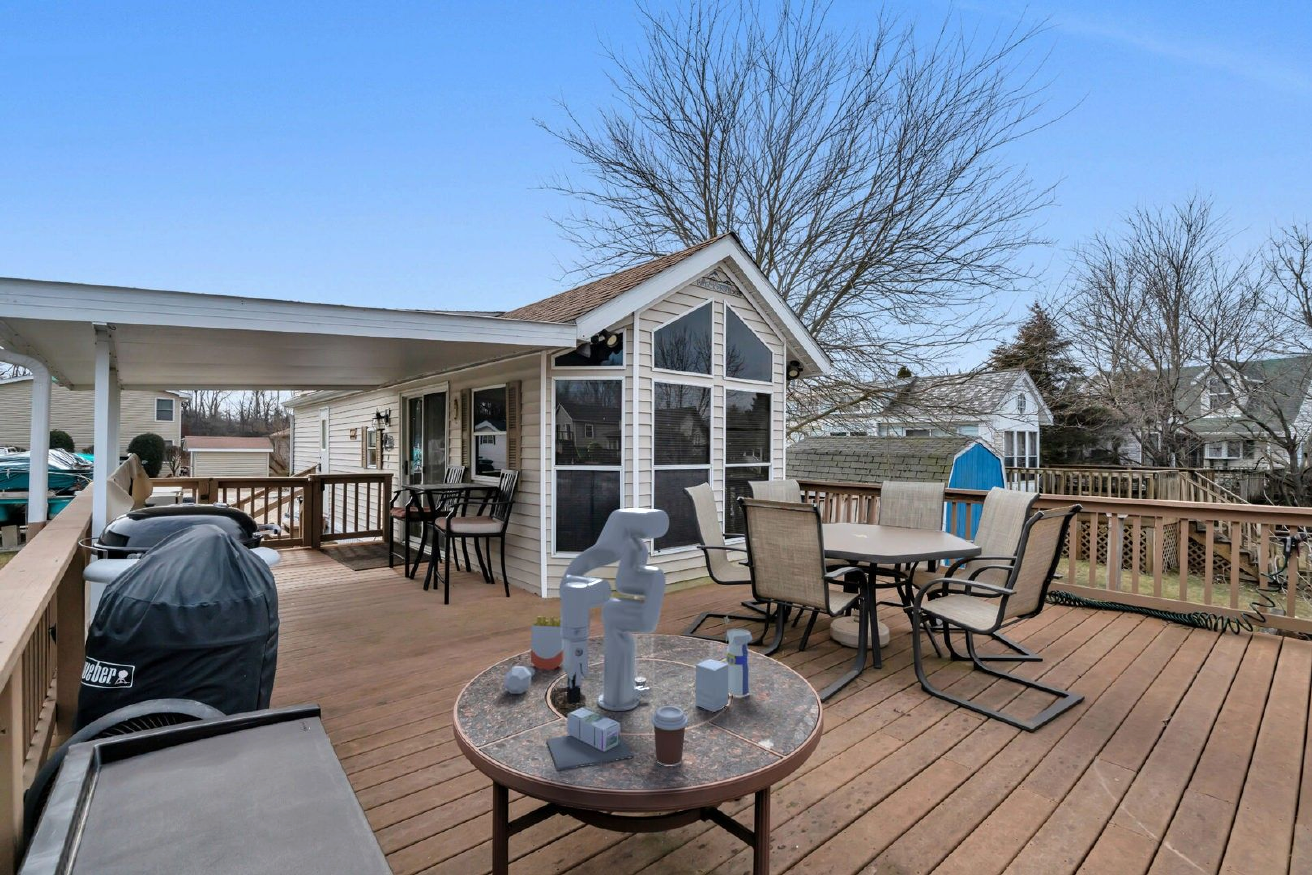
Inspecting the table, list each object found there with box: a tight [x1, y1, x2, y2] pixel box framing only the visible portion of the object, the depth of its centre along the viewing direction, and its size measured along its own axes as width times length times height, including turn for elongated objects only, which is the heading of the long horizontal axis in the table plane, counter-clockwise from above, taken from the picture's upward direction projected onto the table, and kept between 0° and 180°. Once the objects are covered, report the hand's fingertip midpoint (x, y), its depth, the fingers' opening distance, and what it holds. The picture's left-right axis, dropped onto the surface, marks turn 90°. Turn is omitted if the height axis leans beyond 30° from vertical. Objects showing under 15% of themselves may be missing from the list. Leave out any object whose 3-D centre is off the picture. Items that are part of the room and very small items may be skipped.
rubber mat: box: [546, 734, 634, 771], centre depth 153 cm, size 19×15×1 cm
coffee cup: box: [651, 705, 689, 765], centre depth 149 cm, size 9×9×12 cm
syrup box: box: [566, 706, 621, 752], centre depth 157 cm, size 6×6×14 cm
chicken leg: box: [503, 665, 536, 695], centre depth 192 cm, size 8×18×8 cm, turn 177°
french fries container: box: [530, 615, 564, 670], centre depth 210 cm, size 5×11×18 cm, turn 85°
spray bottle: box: [723, 615, 753, 695], centre depth 191 cm, size 8×9×25 cm
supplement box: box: [695, 658, 729, 711], centre depth 181 cm, size 7×7×13 cm
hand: (573, 701), depth 156 cm, fingers closed
